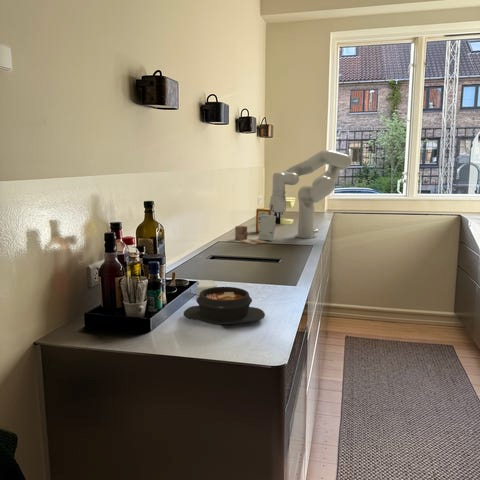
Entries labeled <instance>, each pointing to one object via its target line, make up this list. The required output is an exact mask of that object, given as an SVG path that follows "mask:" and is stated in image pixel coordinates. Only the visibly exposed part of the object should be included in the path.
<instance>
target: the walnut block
mask: <svg viewBox="0 0 480 480" xmlns="http://www.w3.org/2000/svg"><path fill="white" fill-rule="evenodd" d="M234 229H235V230H234V232H235V233H234V234H235V235H234V239H235V240H236V241H239V240H247V239H248V226H245V225H237V226H235V227H234Z"/></svg>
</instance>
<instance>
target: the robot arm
mask: <svg viewBox="0 0 480 480" xmlns="http://www.w3.org/2000/svg"><path fill="white" fill-rule="evenodd" d="M352 163H353V162H352V158H351V157H350V156H349V155H348V154H345V153H341V152H338V151H335V150H328V149H327V150H320V151H318V152H316V153H315V154H313V155H312V156H310V157H309V158H307V159H305V160H303V161H301V162H299V163H297V164H295V165H292V166H291V167H288V169H286V170H284V171H283V172H274V173H273V174H272V189H271V190H272V191H271V192H272V194H271V196H270V199H269V203H270V207H269V206H268V208H269V211H270V212H271V214H272V215H274V216H276V221H275V225H281V223H280V220H281V218H283V217H282V216H283V215H284V214H286V210H287V208H286V185H288V186H295V185H298V183H299V181H300V177H301V176H304V175H305V176H307V175H310V174H312V173H314V172H315V171H317V170H319V169H320V168H322V167H323V166H325V165H328V168H327V170H326V171H325V172H324V173H322V174H320V176H318V177H317V178H315V179H314V180H313V181H312V184H311V186H310V185H304V186H301V187H299V189H298V193H297V199H298V222H297V223H298V225H297V226H298V227H297V228H298V229H297V233H295V237H296V238H303V239H312V238H314V239H315V238H316V235H317V234H316V233H319V229H314V225H315V224H314V223H315V203H316V204H317V203H319V202H321V201H323V199H325V198H326V197H328V196H329V195H330V194H331V193H333V191H334V190H335V188H336V181H337V180H338V179H339V176H340V171H341V170H346V169H349V168H350V167H351V166H352Z"/></svg>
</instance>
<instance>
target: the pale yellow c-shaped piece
mask: <svg viewBox="0 0 480 480" xmlns="http://www.w3.org/2000/svg"><path fill="white" fill-rule="evenodd" d="M285 197H286V196H285ZM295 203H296V197H286V209H287V208H290V209H293V207H294V206H295ZM269 207H270V202H269V203H268V208H269ZM273 216H274V215H273ZM293 223H294V218H293V219H292V218H284V217H281V220H280V225H281V224H283V225H285V224H286V225H292V224H293Z"/></svg>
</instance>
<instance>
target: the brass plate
mask: <svg viewBox="0 0 480 480" xmlns="http://www.w3.org/2000/svg"><path fill="white" fill-rule="evenodd" d="M238 241H239V242H241V243H245V244H246V243H247V244H249V245H255V244H258V245H259V244H263V243H264V244H265V243H269V240H260V239H259V238H247V240H238Z"/></svg>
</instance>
